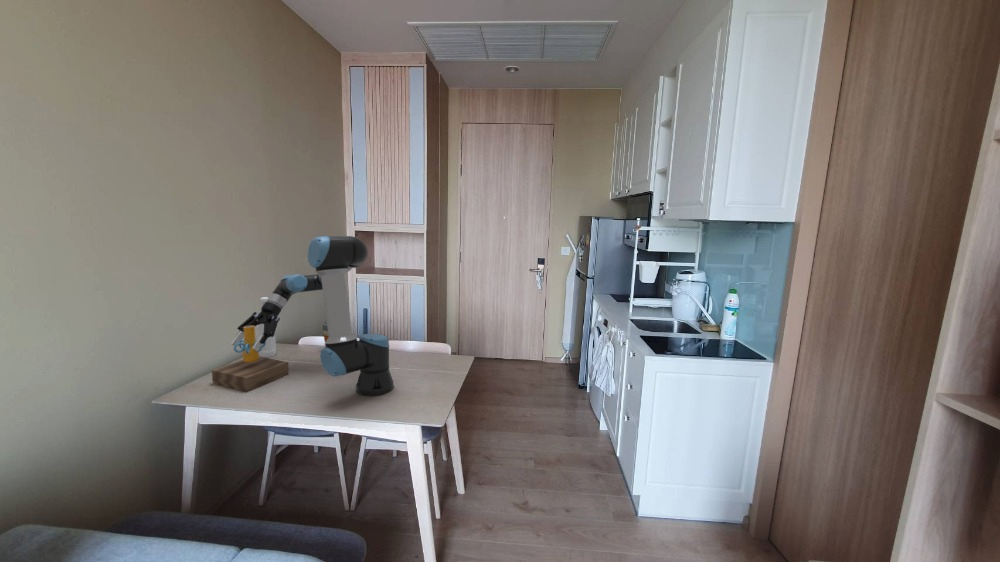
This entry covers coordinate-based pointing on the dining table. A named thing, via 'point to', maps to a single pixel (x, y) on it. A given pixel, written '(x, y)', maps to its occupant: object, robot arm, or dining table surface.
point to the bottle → (270, 342)
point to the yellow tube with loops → (249, 345)
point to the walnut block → (250, 373)
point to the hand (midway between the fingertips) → (244, 347)
